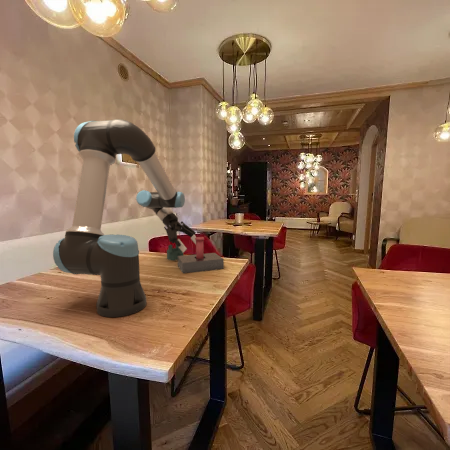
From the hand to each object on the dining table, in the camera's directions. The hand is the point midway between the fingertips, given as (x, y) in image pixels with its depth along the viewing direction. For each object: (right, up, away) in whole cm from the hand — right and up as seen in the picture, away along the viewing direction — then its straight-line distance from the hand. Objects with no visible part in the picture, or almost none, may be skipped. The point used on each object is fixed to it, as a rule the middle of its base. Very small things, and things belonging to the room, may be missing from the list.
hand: (192, 248), depth 130 cm
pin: (+4, -10, -1) cm, 10 cm away
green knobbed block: (-12, -8, +17) cm, 22 cm away
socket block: (+4, -9, -1) cm, 10 cm away
